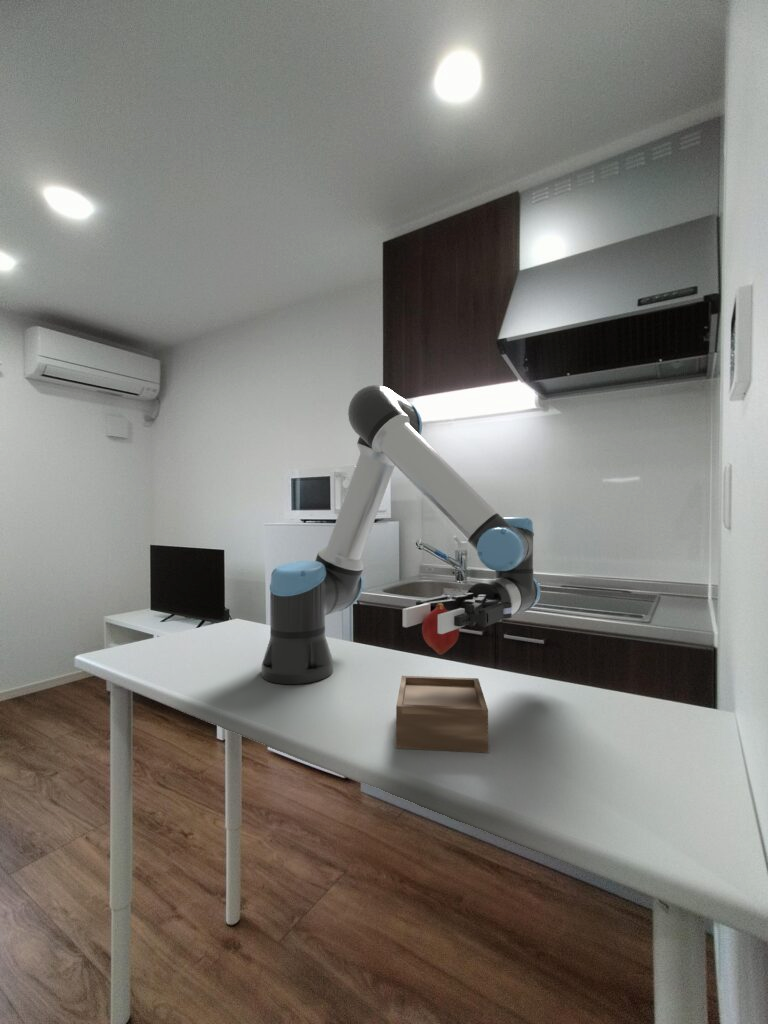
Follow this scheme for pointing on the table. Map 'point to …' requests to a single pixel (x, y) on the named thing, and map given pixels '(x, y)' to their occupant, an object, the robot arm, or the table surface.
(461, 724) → the walnut tray
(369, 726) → the table surface
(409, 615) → the robot arm
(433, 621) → the onion
